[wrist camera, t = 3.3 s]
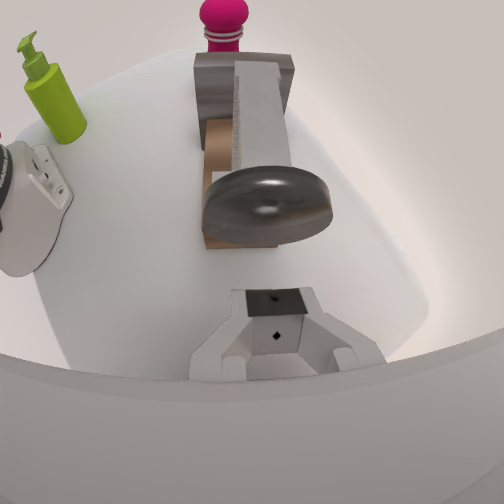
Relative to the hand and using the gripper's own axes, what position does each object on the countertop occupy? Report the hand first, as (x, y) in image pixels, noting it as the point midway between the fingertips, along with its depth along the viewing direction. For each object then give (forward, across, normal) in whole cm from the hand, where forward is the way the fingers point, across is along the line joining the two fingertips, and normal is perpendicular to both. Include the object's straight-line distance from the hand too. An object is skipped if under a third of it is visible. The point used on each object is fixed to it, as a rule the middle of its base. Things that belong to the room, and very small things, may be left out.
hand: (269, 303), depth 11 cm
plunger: (+18, -1, +6) cm, 19 cm away
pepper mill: (+38, +2, -10) cm, 40 cm away
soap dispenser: (+36, +28, -7) cm, 46 cm away
